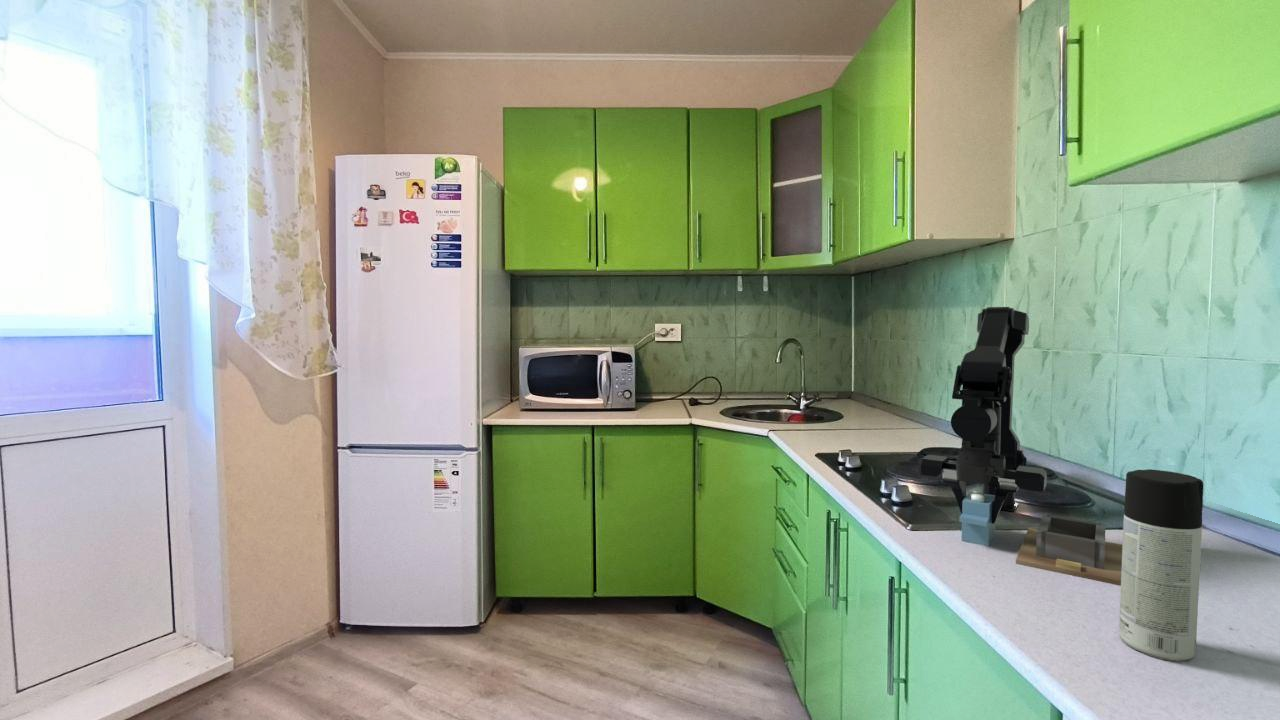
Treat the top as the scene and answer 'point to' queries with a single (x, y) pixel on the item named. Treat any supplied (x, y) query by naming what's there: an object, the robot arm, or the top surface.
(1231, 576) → the top surface
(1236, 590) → the top surface
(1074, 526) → the pocket board
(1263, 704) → the top surface
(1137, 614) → the spray can
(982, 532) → the servo block
